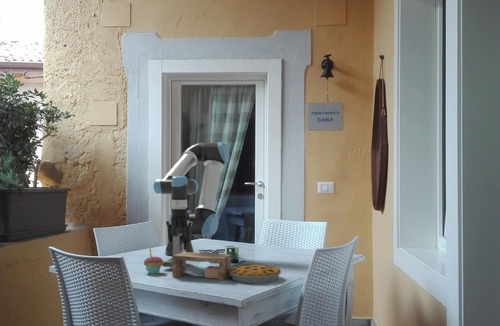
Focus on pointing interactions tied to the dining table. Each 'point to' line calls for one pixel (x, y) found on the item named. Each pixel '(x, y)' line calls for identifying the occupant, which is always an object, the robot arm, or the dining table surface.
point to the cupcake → (153, 264)
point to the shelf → (181, 258)
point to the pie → (254, 273)
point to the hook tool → (175, 249)
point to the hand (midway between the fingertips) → (179, 256)
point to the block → (212, 272)
